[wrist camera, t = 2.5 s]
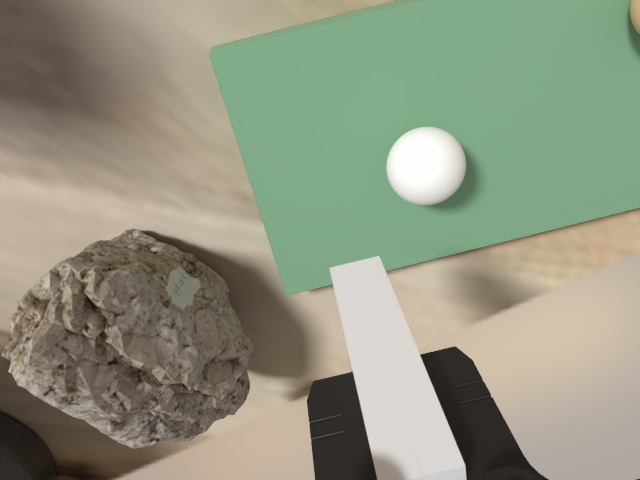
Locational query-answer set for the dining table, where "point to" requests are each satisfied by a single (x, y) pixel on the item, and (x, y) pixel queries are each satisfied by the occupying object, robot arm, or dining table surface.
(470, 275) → the dining table surface
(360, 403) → the robot arm
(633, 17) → the orange ball
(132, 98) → the dining table surface
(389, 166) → the white ball
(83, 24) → the dining table surface
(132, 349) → the rock
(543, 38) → the putting mat
